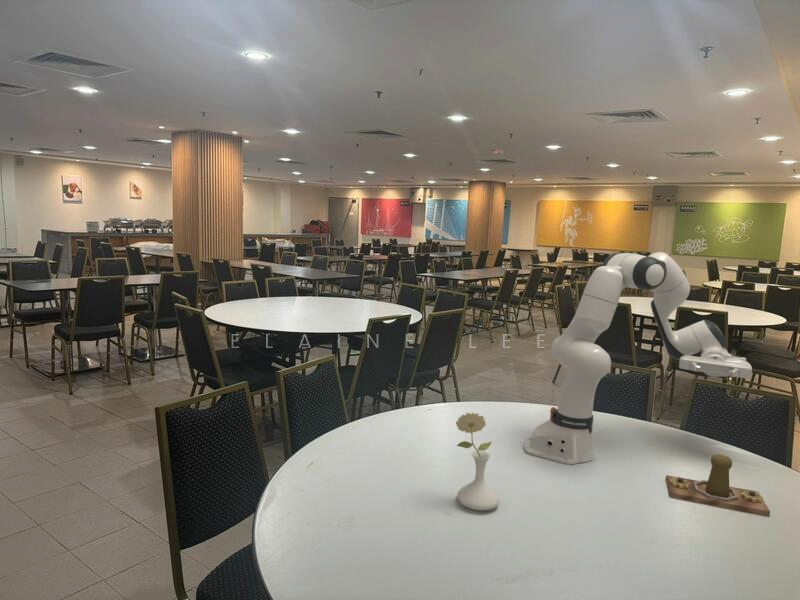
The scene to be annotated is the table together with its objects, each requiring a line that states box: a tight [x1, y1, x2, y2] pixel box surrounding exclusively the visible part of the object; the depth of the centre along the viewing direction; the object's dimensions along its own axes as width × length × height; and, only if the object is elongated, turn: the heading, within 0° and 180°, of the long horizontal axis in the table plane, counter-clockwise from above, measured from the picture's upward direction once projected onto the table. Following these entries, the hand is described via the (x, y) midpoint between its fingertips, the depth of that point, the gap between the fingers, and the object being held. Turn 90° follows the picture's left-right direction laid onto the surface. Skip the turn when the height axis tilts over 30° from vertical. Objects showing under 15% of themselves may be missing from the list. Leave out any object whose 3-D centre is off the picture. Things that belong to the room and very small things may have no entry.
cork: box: [705, 453, 733, 498], centre depth 152 cm, size 6×6×11 cm
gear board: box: [665, 474, 771, 518], centre depth 153 cm, size 24×12×4 cm, turn 69°
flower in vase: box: [455, 412, 501, 511], centre depth 143 cm, size 13×11×25 cm
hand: (714, 371), depth 168 cm, fingers open, 8 cm apart
